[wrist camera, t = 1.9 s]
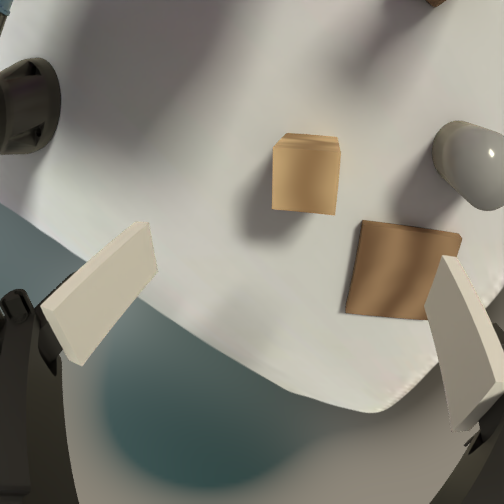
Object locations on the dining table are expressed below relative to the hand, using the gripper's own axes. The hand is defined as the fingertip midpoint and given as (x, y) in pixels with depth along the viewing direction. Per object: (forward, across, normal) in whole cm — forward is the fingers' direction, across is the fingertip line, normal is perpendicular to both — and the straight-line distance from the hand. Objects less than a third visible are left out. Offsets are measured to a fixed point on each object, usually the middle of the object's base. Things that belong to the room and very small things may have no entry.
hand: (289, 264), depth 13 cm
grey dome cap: (+20, +16, +3) cm, 25 cm away
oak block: (+19, 0, 0) cm, 19 cm away
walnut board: (+20, +12, -12) cm, 26 cm away
